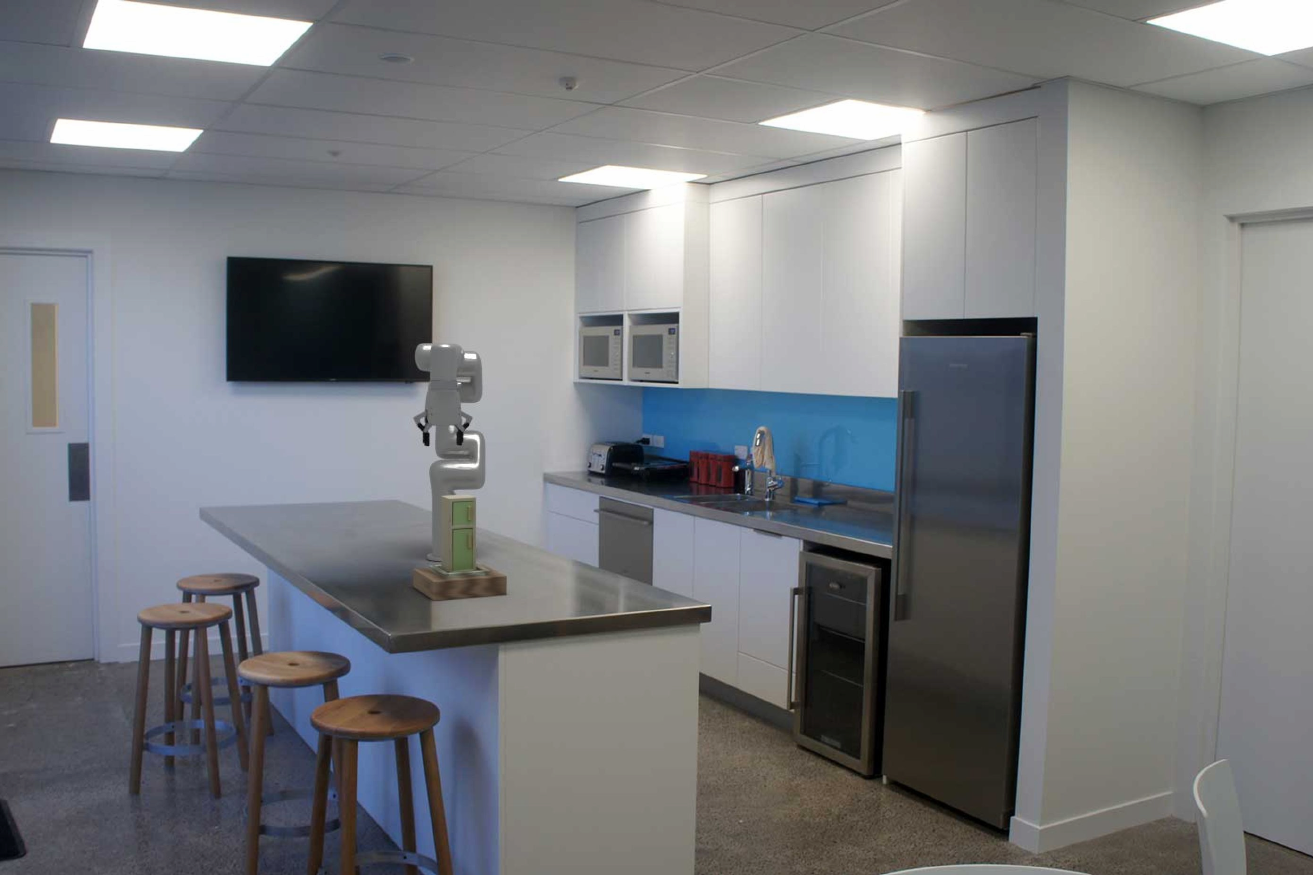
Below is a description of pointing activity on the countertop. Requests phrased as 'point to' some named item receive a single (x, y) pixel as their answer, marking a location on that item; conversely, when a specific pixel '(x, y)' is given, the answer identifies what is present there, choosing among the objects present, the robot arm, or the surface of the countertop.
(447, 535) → the toy refrigerator
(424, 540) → the countertop surface
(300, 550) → the countertop surface
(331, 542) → the countertop surface
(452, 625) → the countertop surface
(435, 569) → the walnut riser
